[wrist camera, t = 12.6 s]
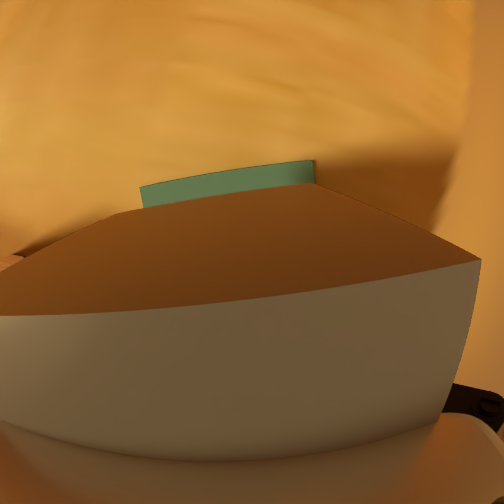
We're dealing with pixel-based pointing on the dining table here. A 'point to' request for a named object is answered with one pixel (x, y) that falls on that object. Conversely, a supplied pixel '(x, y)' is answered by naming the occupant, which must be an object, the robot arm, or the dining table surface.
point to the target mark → (228, 182)
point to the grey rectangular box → (235, 328)
